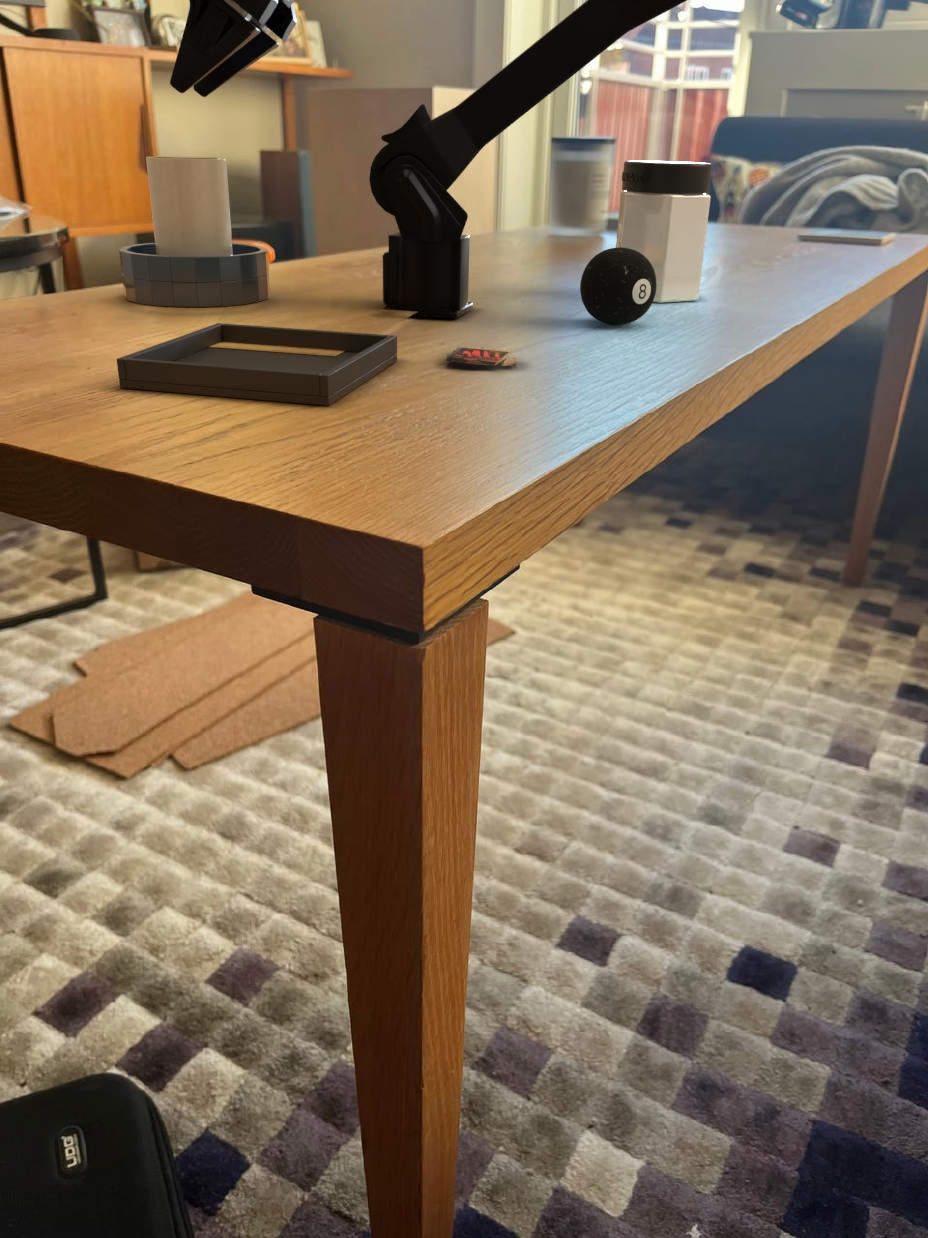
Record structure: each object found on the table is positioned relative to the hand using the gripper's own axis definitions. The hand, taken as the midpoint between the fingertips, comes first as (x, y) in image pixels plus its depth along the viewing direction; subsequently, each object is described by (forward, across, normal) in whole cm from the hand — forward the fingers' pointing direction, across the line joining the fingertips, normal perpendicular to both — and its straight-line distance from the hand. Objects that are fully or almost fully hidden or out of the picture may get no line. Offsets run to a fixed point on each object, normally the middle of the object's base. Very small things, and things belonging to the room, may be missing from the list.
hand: (187, 91), depth 78 cm
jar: (-11, -12, +43) cm, 46 cm away
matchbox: (0, +21, +27) cm, 34 cm away
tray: (+8, +25, +16) cm, 31 cm away
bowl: (+14, -3, +9) cm, 17 cm away
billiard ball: (-7, +5, +37) cm, 38 cm away
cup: (+13, -3, +8) cm, 16 cm away
